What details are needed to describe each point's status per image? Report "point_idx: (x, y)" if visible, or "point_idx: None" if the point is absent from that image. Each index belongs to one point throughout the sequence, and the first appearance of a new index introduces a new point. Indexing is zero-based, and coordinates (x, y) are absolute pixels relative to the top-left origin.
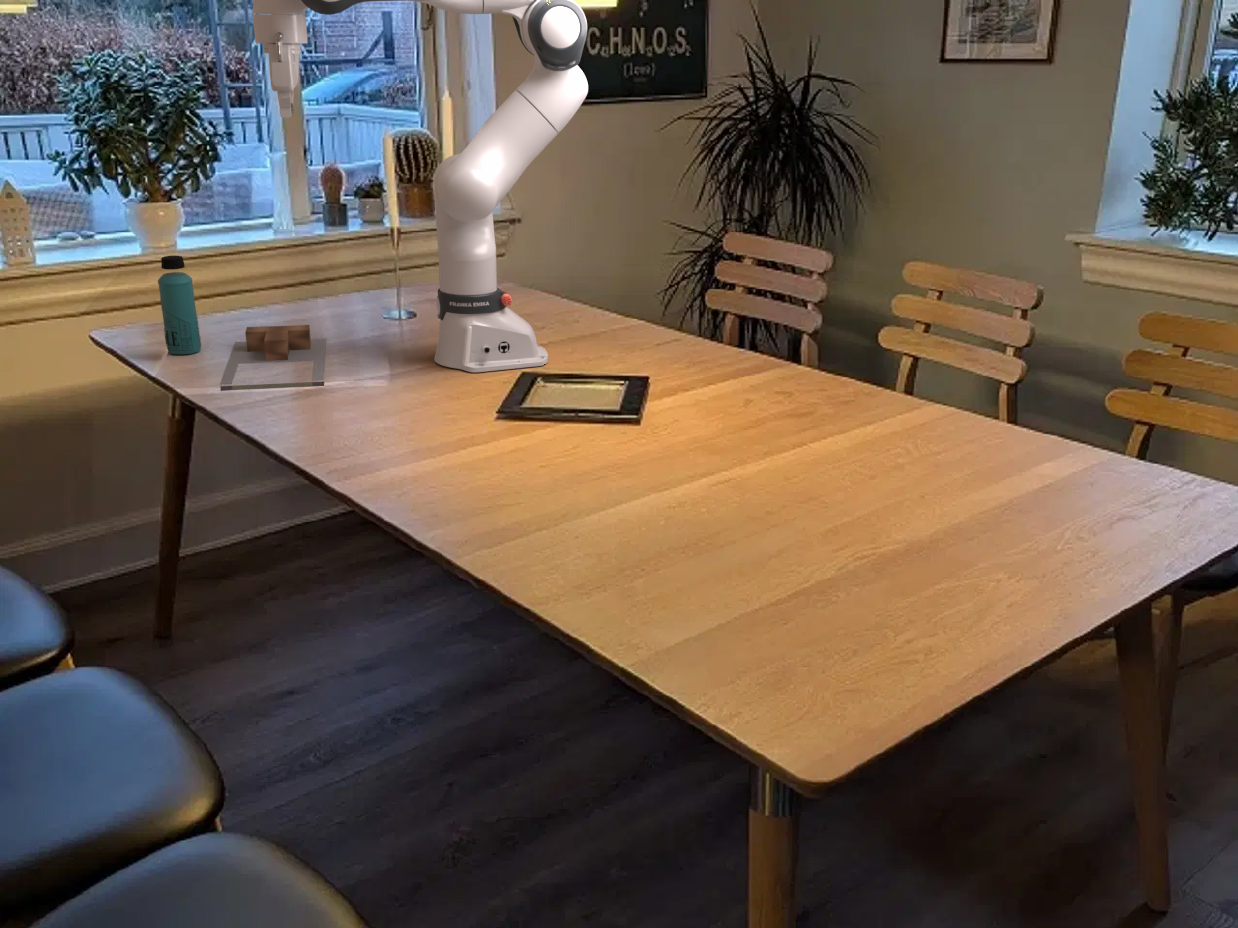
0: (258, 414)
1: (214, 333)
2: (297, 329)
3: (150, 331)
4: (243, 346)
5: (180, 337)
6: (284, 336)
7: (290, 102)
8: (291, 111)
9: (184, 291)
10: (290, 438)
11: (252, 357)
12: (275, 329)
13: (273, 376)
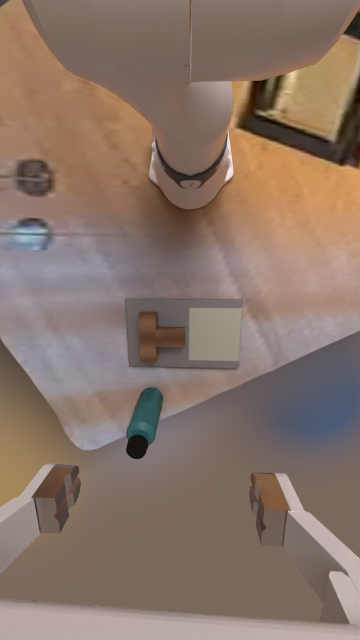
0: (295, 340)
1: (88, 381)
2: (152, 323)
3: (80, 422)
4: None
5: (161, 404)
6: (173, 332)
7: (338, 540)
8: (73, 475)
9: (153, 421)
10: (350, 318)
11: (174, 351)
12: (150, 340)
13: None
